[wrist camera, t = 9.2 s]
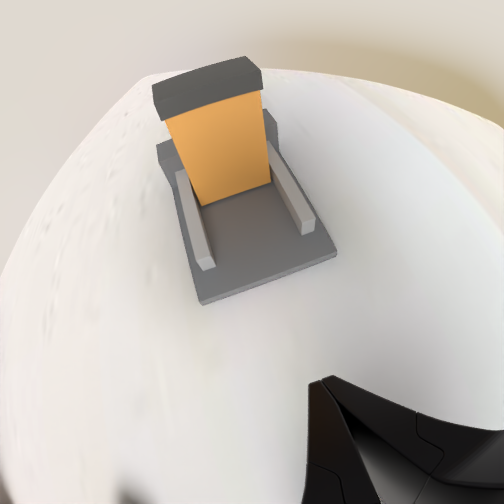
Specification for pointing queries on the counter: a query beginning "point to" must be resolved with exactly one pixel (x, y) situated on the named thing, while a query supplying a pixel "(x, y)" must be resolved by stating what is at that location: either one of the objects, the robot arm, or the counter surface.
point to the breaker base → (246, 227)
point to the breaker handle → (217, 126)
